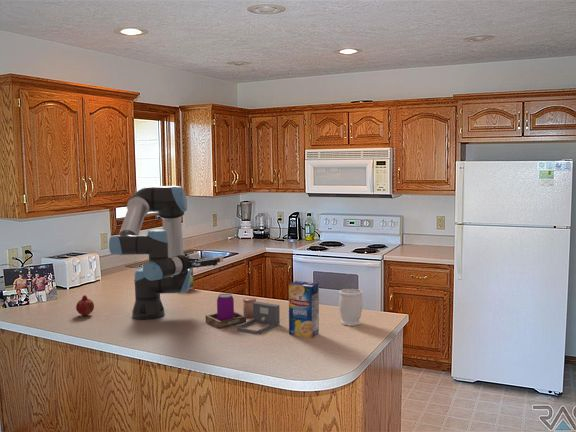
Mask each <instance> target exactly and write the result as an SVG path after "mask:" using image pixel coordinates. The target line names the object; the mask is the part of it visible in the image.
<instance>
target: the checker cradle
mask: <svg viewBox="0 0 576 432" xmlns="http://www.w3.org/2000/svg"><path fill="white" fill-rule="evenodd" d="M280 311H281V310H280V304H274V303H268V302H262V301H256V302H254V303H253V318H250V319H249V320H246V322H245V323H242V324H238V325H236V330H237V331H239V332H243V333H249V334H253V335H261V334H263V333H265V332H267V331H270V330H271V329H273V328H275V327H277V326H279V325H280V321H281V319H280V314H281V313H280ZM255 323H257V324H261V325H265V326H264V327H261V328H260V329H258V330H255V329H251V328H247V327H248V326H250V325H253V324H255Z"/></svg>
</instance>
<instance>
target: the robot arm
mask: <svg viewBox="0 0 576 432" xmlns="http://www.w3.org/2000/svg"><path fill="white" fill-rule="evenodd" d="M187 202H188V200H187V194H186V191H185V189H184V188H183V187H182V186H179V185H156V186H155V185H152V186H151V185H150V186H146V187H145V186H144V187H142V188H140V189H138V190H137V191H136V192H134V193H132V195H131V196H130V198H129V199H128V201H127V204H126V209H127V211H126V213H125V216H124V220H123V221H122V224H121V227H120V230H119V232H118V234H116V235H111V236H110V238H109V240H108V248H109V253H110V254H111V255H115V256H116V255H117V256H125V255H126V256H128V255H130V256H131V255H133V256H134V255H148V261H147V262H145V263H144V265H143V267H142V268H139V269H137V270H136V271H135V272H134V296H135V300H134V304H133V307H132V310H131V312H132V314H131V315H132V318H133V319H137V320H152V319H153V320H154V319H156V318H157V319H158V318H161V317H163V316H164V315H165V307H164V305H163V302H162V300H161V295H163V294H183V293H185V294H186V293H188V292H189V290H190V289H189V286H190V277H191V269H189V268H192V267H193V268H196V269H198V268H202V267H210V266H211V267H212V266H213V267H216V266H218V264H219V263H223V262H224V255H222V254H221V255H218V256H213V257H211V258H200V252H194V253H190V254H188V253H184V242H183V241H184V240H183V225H182V223H183V222H182V218H183V216H184V215H185V212H187V211H188V203H187ZM151 212H153V213H158V218H160V219H161V220H162V221H161V222H162V228H161V229H160V228H156V229H149V230H148V231H147V234H140V231H141V228H142V227H143V223H144V219H145V216H146V215H148V213H151Z"/></svg>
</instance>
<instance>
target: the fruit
mask: <svg viewBox="0 0 576 432" xmlns="http://www.w3.org/2000/svg"><path fill="white" fill-rule="evenodd" d="M75 309H76V311H77V313H78V314H80V315H81V316H83V317H84V316H88V315H90V314H91V313H93V311H94V309H95V303H94V302H93V300H91V299H90V298H88V296H87V295H83V296H82V297H81V299H79V300H78V301H77V303H76V305H75Z"/></svg>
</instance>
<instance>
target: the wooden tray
mask: <svg viewBox="0 0 576 432" xmlns="http://www.w3.org/2000/svg"><path fill="white" fill-rule="evenodd" d="M204 317H205V323H207V324H210V325H211V326H213V327H216V328H218V329H224V328H225V329H226V328H229V327H233V326H238V325H240V324H242V323H245V322H247V318H246V316H245V315H244V314H242V313H240V312H237V311H235V310H234V318H232V319H228V320H223V321H219V320H218V319H217V312H216V313H212V314H205V316H204Z"/></svg>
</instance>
